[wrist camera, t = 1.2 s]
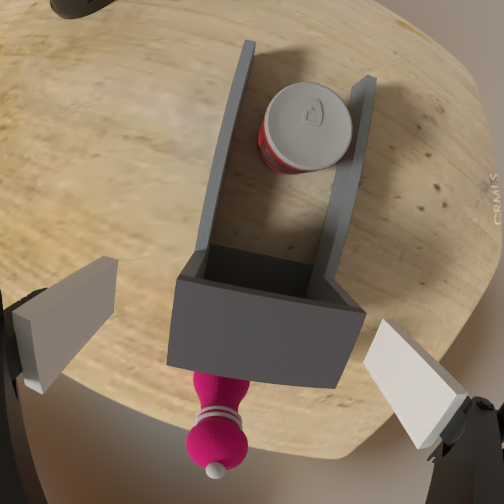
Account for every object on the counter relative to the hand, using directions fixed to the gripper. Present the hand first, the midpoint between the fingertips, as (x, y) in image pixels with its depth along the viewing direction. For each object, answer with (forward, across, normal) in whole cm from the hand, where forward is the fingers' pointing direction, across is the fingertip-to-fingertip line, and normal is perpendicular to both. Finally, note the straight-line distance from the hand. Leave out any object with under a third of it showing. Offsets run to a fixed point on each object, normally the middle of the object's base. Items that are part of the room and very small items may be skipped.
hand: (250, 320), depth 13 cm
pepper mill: (+23, +1, -18) cm, 29 cm away
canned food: (+23, +2, +12) cm, 26 cm away
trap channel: (+23, +3, +6) cm, 24 cm away
